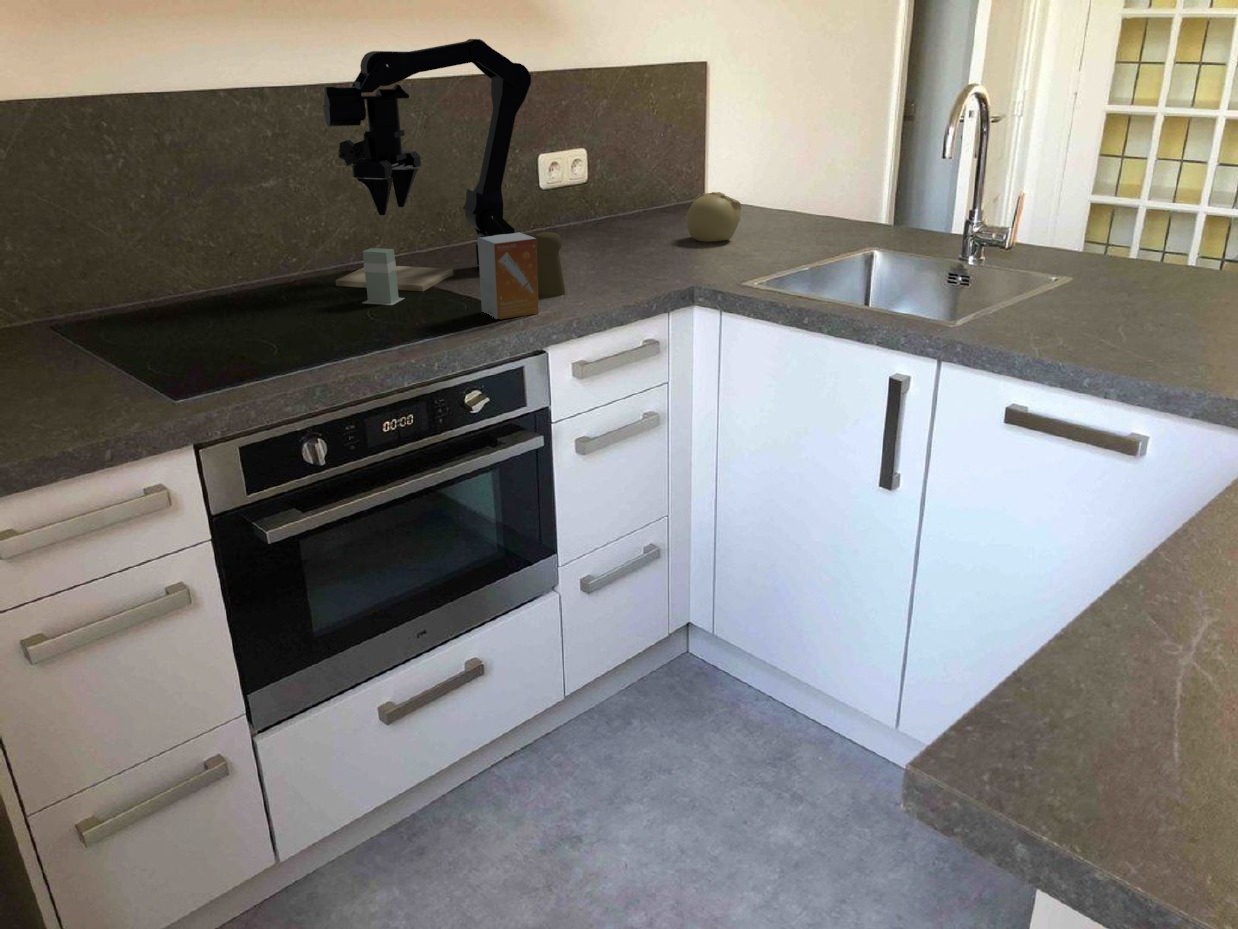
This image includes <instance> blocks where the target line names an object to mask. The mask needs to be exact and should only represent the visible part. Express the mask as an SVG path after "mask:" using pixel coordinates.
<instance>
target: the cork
mask: <svg viewBox="0 0 1238 929" xmlns="http://www.w3.org/2000/svg"><path fill="white" fill-rule="evenodd" d="M533 237H534V238H536V246H537V277H538V297H540V298H554V297H560V296H564V295H566V289H565V281H564V276H563V270H562V264H561V257H560V250H561V248H562V244H563V243H562V242H563V241H562V238H561V235H559V233H556V232H552V231H551V232H550V231H545V232H540V233H539V232H538V233H536V234H535V235H534V236H533Z"/></svg>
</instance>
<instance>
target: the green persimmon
mask: <svg viewBox="0 0 1238 929" xmlns="http://www.w3.org/2000/svg"><path fill="white" fill-rule="evenodd" d="M741 212H742V204H741V202H740V201H739V200H737V199H735V198H732V197H730V196H727V195H726V194H725V193H723V192H720V191H713V192H712V191H711V192H702V193H701V194H699V195H698V196H696V197H694V201H693V202H692V204H691V205H690V206H689V209H688V211H687V214H686V228H687V231H688V234H689V235H690V237H691V238H692V239H695V240H696V241H700V242H706V243H708V242H709V243H710V242H719V241H720V242H721V241H728V240H730V239H732V237H733V236H734V234H735V232H736V230H737V228H738V226H739V223H740V222H741V215H742V213H741Z"/></svg>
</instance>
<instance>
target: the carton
mask: <svg viewBox="0 0 1238 929" xmlns="http://www.w3.org/2000/svg"><path fill="white" fill-rule="evenodd" d="M362 256H363V258H362V259H363V268H364V272H365V277H366V286H367V288H366V292H367V293H366V294H367V300H368V302H380V303H393V302H394V301H396V300H398V299H399V298H400V296H399V290H398V286H397V276H396V266H397V263H396V256H395V249H394V248H381V247H380V248H376V247H370V248H368V249H365V250H362Z"/></svg>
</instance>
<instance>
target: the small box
mask: <svg viewBox="0 0 1238 929" xmlns="http://www.w3.org/2000/svg"><path fill="white" fill-rule="evenodd" d="M479 237H480V236H479ZM534 237H535V236H530V235H528V234H525V233H522V232H514V233H512V234H502V235H494V236H488V237H480V238H478V237H477V244H478V254H479V265H478V266H479V270H478V271H479V284H480V285H479V287H480V300H481V301H480V304H481V313H482V312H484V313H487V314H489V315H490V316H492V317H491V318H493V317H494V318H493V319H495V320H497V319H500V320H504V319H511V318H517V317H524V316H530V315H537V314H539V312H540V311H539V296H538V277H537V246H536V238H534ZM484 313H483V314H484ZM490 316H489V317H490Z"/></svg>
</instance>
